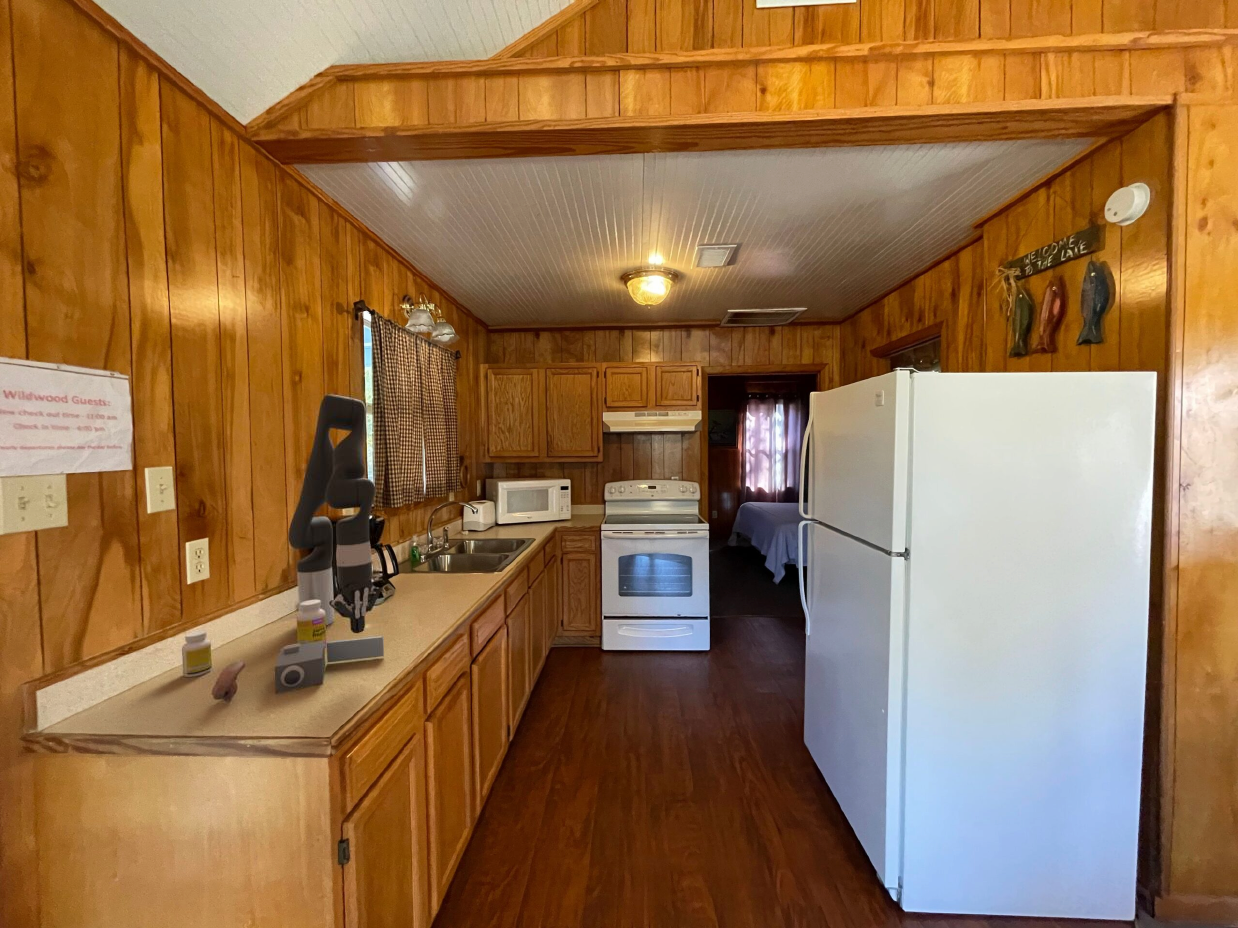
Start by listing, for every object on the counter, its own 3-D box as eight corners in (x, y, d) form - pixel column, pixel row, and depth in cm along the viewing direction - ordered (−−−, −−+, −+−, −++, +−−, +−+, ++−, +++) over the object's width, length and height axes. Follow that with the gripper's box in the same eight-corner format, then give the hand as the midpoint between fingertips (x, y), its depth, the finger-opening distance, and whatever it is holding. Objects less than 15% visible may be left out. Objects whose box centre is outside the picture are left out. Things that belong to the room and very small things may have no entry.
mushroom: (227, 710, 104) (225, 673, 104) (199, 710, 104) (197, 673, 104) (256, 692, 111) (254, 657, 111) (230, 692, 112) (228, 657, 112)
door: (327, 662, 125) (326, 643, 125) (329, 660, 127) (328, 640, 126) (383, 656, 128) (382, 637, 128) (384, 654, 130) (383, 635, 129)
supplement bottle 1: (217, 669, 124) (215, 630, 124) (192, 679, 119) (190, 638, 119) (202, 666, 126) (200, 628, 125) (177, 676, 121) (175, 636, 120)
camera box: (282, 672, 121) (281, 643, 121) (325, 663, 126) (324, 636, 125) (275, 696, 109) (273, 665, 109) (322, 686, 114) (321, 656, 113)
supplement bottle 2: (313, 654, 132) (310, 606, 131) (292, 653, 133) (289, 605, 132) (332, 644, 138) (330, 598, 138) (312, 643, 139) (309, 597, 139)
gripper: (340, 568, 113) (344, 644, 113) (388, 556, 125) (391, 624, 125) (317, 566, 116) (322, 640, 116) (366, 554, 128) (370, 621, 128)
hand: (358, 631), depth 121 cm, fingers closed
